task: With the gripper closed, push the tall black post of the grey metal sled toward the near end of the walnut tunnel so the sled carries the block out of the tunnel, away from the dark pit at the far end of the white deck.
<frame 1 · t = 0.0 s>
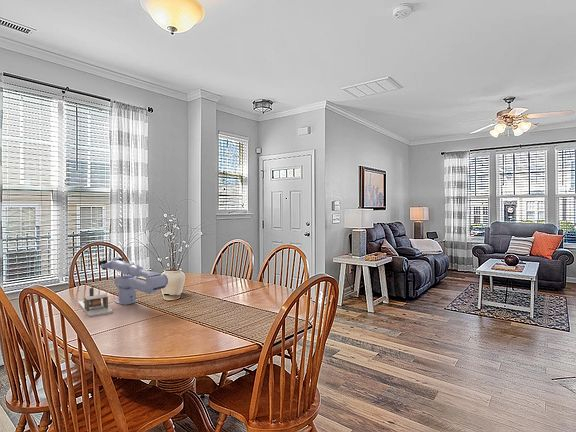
hand: (105, 261, 217), 22 cm above the table, tool horizontal, fingers open, 7 cm apart
block: (96, 306, 193), point 2 cm above the table, touching sled
tunnel deck: (96, 309, 193), on the table
light bulb box: (173, 294, 227), on the table
sled: (94, 297, 197), point 5 cm above the table, slide at 0.0 cm, touching block
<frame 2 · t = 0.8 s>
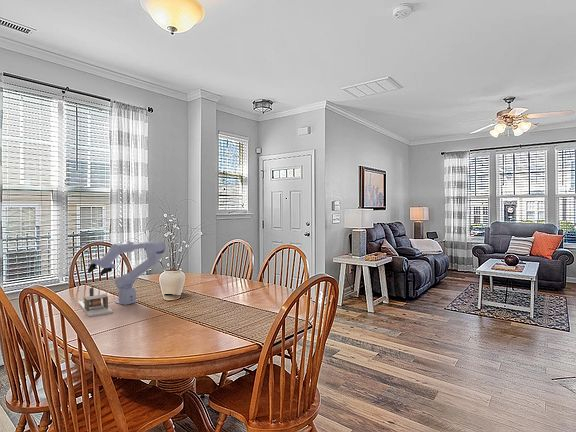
hand: (94, 273, 213), 16 cm above the table, tool tilted 50°, fingers open, 7 cm apart
nothing on the table moved.
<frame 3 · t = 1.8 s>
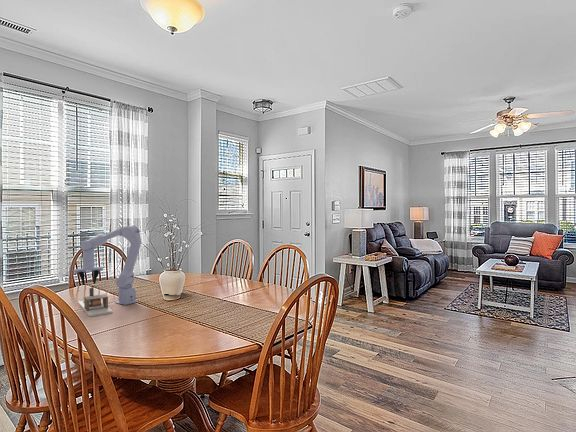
hand: (89, 284, 207), 10 cm above the table, tool pointing down, fingers open, 5 cm apart
nothing on the table moved.
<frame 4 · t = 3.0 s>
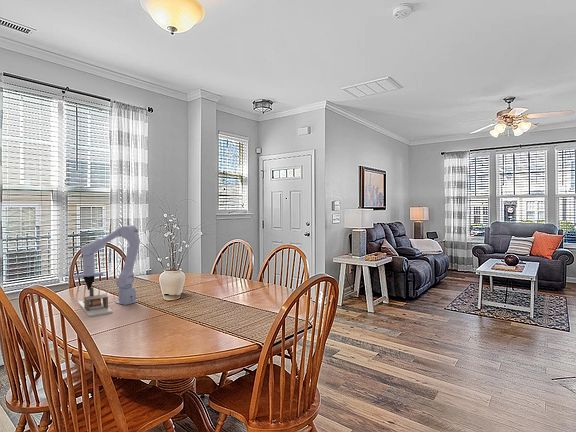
hand: (89, 289, 207), 7 cm above the table, tool pointing down, fingers closed
nothing on the table moved.
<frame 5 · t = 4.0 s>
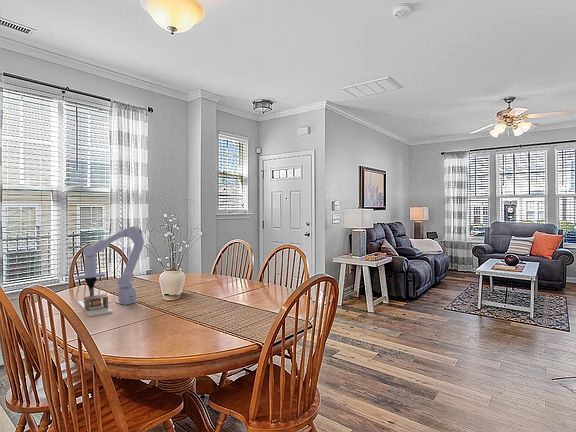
hand: (90, 291, 204), 7 cm above the table, tool pointing down, fingers closed, pressing on sled
sled: (94, 298, 197), point 5 cm above the table, slide at -0.5 cm, touching block, gripper
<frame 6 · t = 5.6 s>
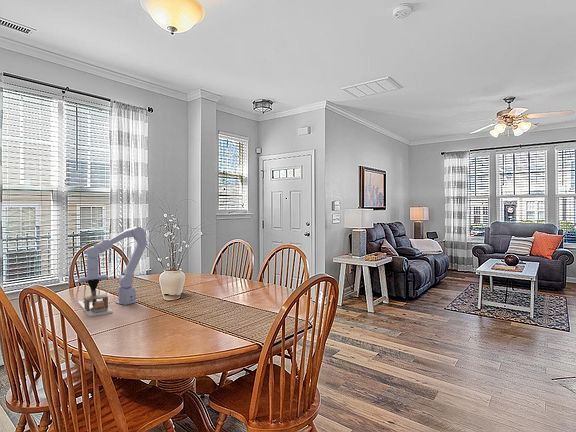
hand: (93, 293, 199), 7 cm above the table, tool pointing down, fingers closed, pressing on sled
block: (99, 309, 187), point 2 cm above the table, touching sled
sled: (96, 300, 191), point 5 cm above the table, slide at -7.0 cm, touching block, gripper
everything else where it was.
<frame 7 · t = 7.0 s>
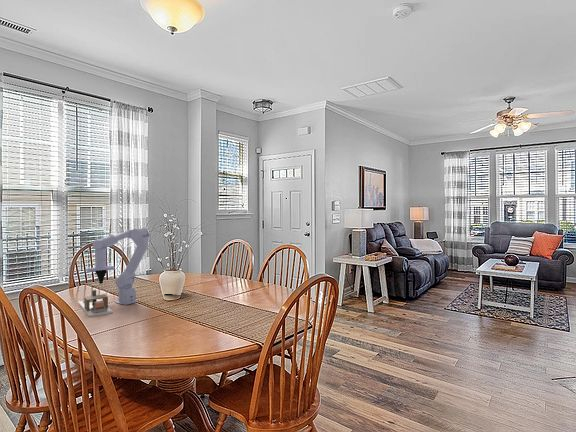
hand: (100, 283, 210), 10 cm above the table, tool pointing down, fingers closed
sled: (96, 300, 191), point 5 cm above the table, slide at -7.0 cm, touching block
everything else where it was.
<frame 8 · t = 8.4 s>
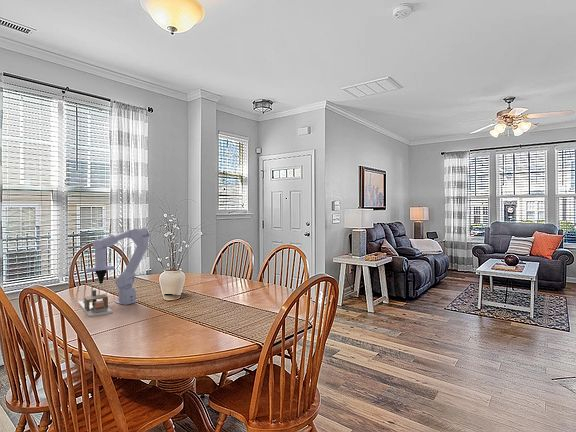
hand: (100, 283, 210), 10 cm above the table, tool pointing down, fingers closed
nothing on the table moved.
at the end: sled slide at -7.0 cm; block moved 7.0 cm from its start; block touching sled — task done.
